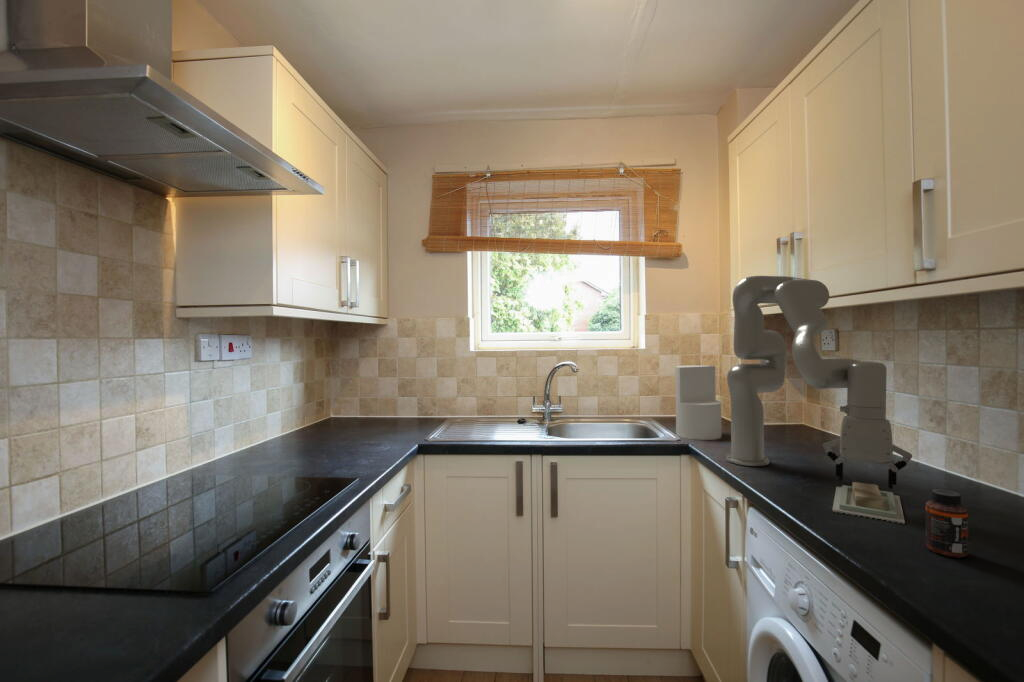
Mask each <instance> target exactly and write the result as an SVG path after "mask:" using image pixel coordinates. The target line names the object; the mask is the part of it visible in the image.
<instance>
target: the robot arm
mask: <svg viewBox="0 0 1024 682" xmlns="http://www.w3.org/2000/svg"><path fill="white" fill-rule="evenodd" d="M829 299H830V291H829V288H828V287H827V285H826V284H824V282H822V281H819V280H816V279H807V278H801V277H793V276H781V275H752V276H746V277H744V278H742V279H741V280H739V282H737V283H736V285H735V287H734V289H733V293H732V306H733V307H732V308H733V312H734V325H733V326H734V327H733V352H734V354H735V356H736V357H737V358H738V359H740V360H744V361H745V360H746V361H747V360H748V361H750V360H753V361H754V360H759V361H760V363H742V364H736V365H734V366H732V367H731V368H730V369H729V370H728V371H727V376H726V379H727V380H726V381H727V386H728V389H729V390H728V391H729V397H730V398H729V399H730V446H731V447H730V450H731V451H730V453H728V454H727V455H726V456H725V459H726V460H727V462H729V463H732V464H735V465H740V466H748V467H762V466H763V467H764V466H768V465H769V464H770V459H769V458H768V457H766V456H765V453H764V452H765V440H764V439H765V436H764V435H765V431H764V430H765V429H764V426H765V425H764V423H765V422H764V421H765V418H764V417H765V416H764V405H763V403H762V400H761V399H760V397H759V396H758V394H763V393H775V392H778V391H780V389H781V388H782V387H783V386H784V383H785V374H786V360H787V359H786V358H787V344H786V341H785V339H784V336H783V335H782V334H781V333H780V332H778V331H776V330H773V329H772V330H771V329H765V317H764V314H763V311H762V309H761V307H760V306H759V304H770V305H771V304H777V306H778V308H779V310H781V312H782V314H783V316H784V317H785V319H786V321H787V323H788V325H789V327H790V328H791V330H792V332H793V334H794V337H793V340H792V344H791V355H792V361H793V363H794V366H795V367H796V369H797V371H798V373H799V374H800V376H801V378H802V379H803V381H805V383H806V384H807V385H809V387H812V388H814V389H817V390H818V389H819V390H825V389H846V391H847V392H846V393H847V395H846V396H847V397H846V404H845V405H843V406H841V405H840V406H839V412H840V413H841V412H842V413H845V414H846V415H845V416H843V418H842V421H841V425H840V426H841V428H840V438H836V439H833V440H830V441H827V442H825V443H822V447H823V449H824V451H825V453H826V455H827V456H828V457H829V458H830V459H831V460H832V461H833V462H834V464H835V477H838V480H839V482H842V481H843V480H844V463H843V462H844V461H845V460H846V459H847V460H852V461H860V462H868V463H874V464H885V465H887V467H888V468H889V469H888V471H887V472H888V474H887V475H888V476H887V479H888V481H887V483H888V484H887V485H888V489H891V490H892V489H893V485H897V473H898V472H899V471H900V470H901V469H903V468H905V467H906V466H907V464H909V462H910V461H911V460H912V458H913V454H912V453H910V451H907V450H905V449H903V448H901V447H899V446H897V445H895V444H894V443H893V432H892V431H893V430H892V425H891V421H890V420H889V419H886V418H887V417H886V416H887V374H888V373H887V366H886V365H885V364H883V363H881V362H878V361H861V360H856V359H852V358H822V357H821V356H820V354H819V352H818V350H817V349H816V346H815V344H814V338H815V337H816V336H818V335H821V333H823V332H824V331H825V330H826V329H827V327H828V326H829V320H828V318H827V316H826V315H825V314H824V312H823V310H822V308H824V307H825V306H827V304H828V302H829ZM836 446H839V454H838V455H837V454H836V453H835V452H834V451H833V450H832V448H833V447H836ZM893 453H896V454H898V455H900V456H902V458H900V459H901V460H898V461H896V463H895V462H894V461H893V459H894V458H893V455H894V454H893Z"/></svg>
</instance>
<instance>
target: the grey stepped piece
mask: <svg viewBox="0 0 1024 682" xmlns="http://www.w3.org/2000/svg"><path fill="white" fill-rule="evenodd" d="M716 393H717V392H716V365H699V364H697V365H676V366H675V433H676V434H675V435H676V436H678V437H680V438H683V439H689V440H697V441H698V440H699V441H713V440H719V439H721V438H722V402H721V401H720V400H717V398H716Z"/></svg>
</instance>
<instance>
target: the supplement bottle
mask: <svg viewBox="0 0 1024 682" xmlns="http://www.w3.org/2000/svg"><path fill="white" fill-rule="evenodd" d="M931 492H932V494H931V497H932V499H929V500H927V501H926V502H925V546H926V548H928V550H929V551H931V552H933V553H935V554H939V555H941V556H945V557H949V558H958V559H959V558H960V559H961V558H966V557H967V556H968V554H969V511H968V509H967V508H966V507H965V506H964V505H963V504H962V503H961V502H962V498H961V494H960V493H959V492H956V491H953V490H946V489H939V488H938V489H932V491H931Z"/></svg>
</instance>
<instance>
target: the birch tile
mask: <svg viewBox="0 0 1024 682" xmlns="http://www.w3.org/2000/svg"><path fill="white" fill-rule="evenodd" d="M852 487H853V498H854V502H855V506H860V507H866V508H872V509H878V510H883V498H882V496H881V493H880V491H881V490H880V488H879V486H878V484H874V483H873V484H872V483H865V482H858V481H857V482H856V481H852ZM879 490H880V491H879Z"/></svg>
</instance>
